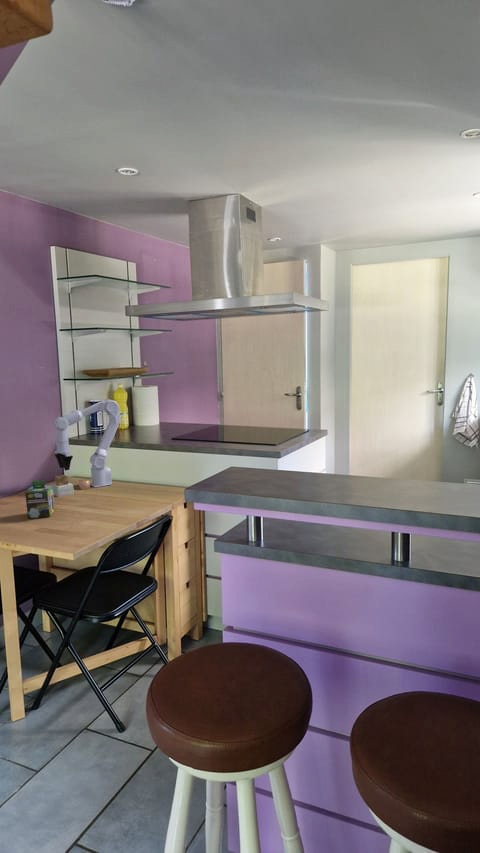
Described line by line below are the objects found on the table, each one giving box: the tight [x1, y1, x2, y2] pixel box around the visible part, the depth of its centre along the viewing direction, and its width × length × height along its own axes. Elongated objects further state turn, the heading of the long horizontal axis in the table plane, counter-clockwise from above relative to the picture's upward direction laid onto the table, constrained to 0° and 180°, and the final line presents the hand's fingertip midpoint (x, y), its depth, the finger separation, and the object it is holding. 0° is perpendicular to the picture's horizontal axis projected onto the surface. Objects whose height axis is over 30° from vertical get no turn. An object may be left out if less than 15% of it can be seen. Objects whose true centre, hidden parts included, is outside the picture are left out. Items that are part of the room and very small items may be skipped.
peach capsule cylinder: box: [78, 478, 91, 490], centre depth 268 cm, size 5×5×4 cm
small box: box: [52, 482, 75, 498], centre depth 258 cm, size 8×8×5 cm
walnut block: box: [54, 474, 69, 486], centre depth 257 cm, size 4×4×4 cm
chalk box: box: [24, 480, 56, 519], centre depth 224 cm, size 9×9×15 cm
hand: (64, 468), depth 266 cm, fingers open, 7 cm apart
